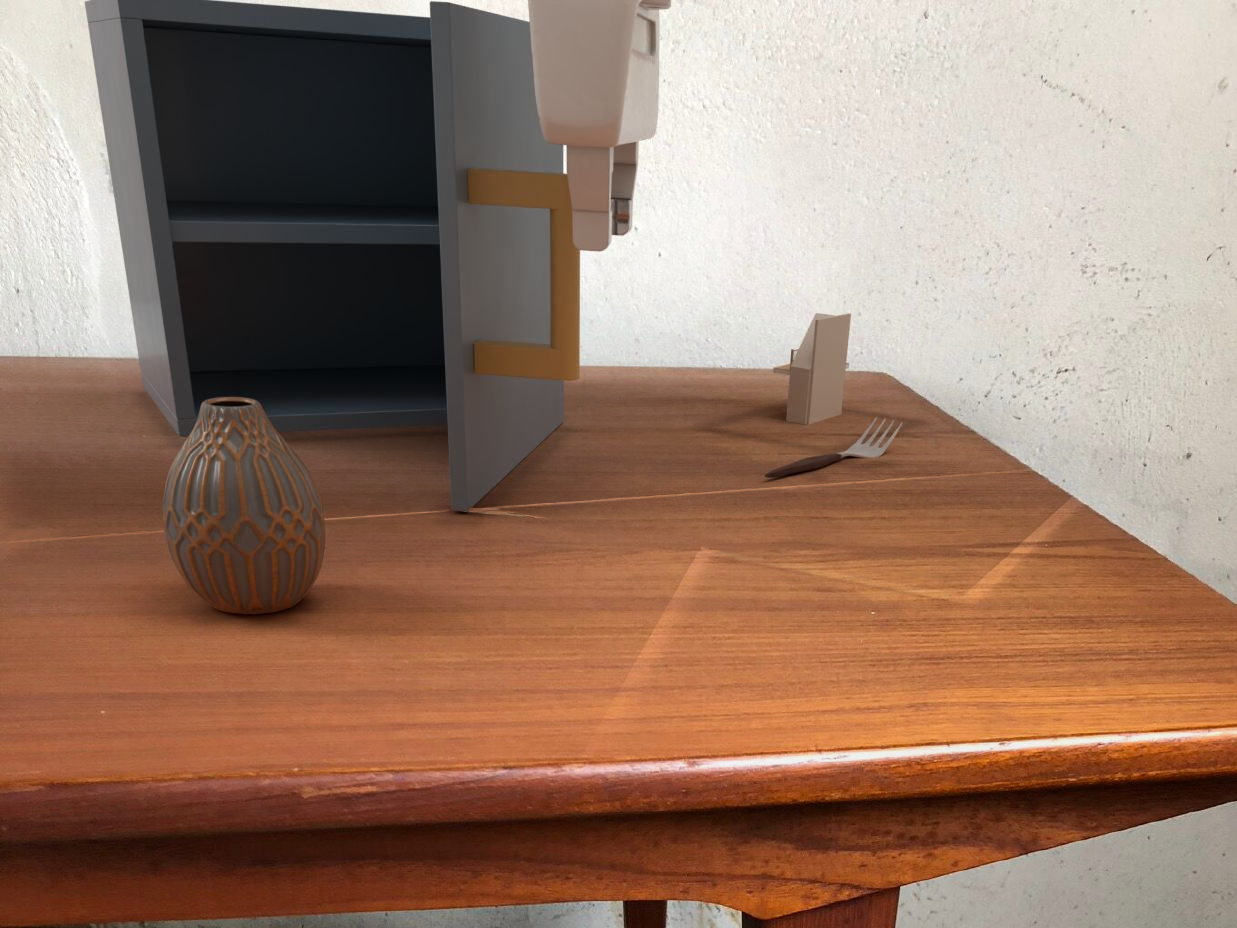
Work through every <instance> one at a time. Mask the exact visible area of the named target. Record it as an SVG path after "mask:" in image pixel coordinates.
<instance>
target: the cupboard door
mask: <svg viewBox="0 0 1237 928" xmlns="http://www.w3.org/2000/svg"><path fill="white" fill-rule="evenodd" d="M429 17H430V24H431V47H432V70H433V93H434V117H435V140H436V163H437V186H438V209H439V233H440V256H441V279H442V302H443V325H444V348H445V372H446V395H447V418H448V425H447V439H448V441H447V442H448V461H449V464H448V465H449V483H450V484H449V485H450V508H451V511H457V512H469V511H470V510H471V509H472V508H473V507H475V505H477V504H478V503H479V502H480V501H481V500H482V499H483V498H484V497H485V496H486V495H487V494H488V493H489V492H490V491H492V489H494V488H495V486H496V485H498V484H499V483H500V482H501V481H502V480H503V479H505V477H506V476H507V475H508V474H509V473H511V472H512V471H513V470H514V469H515V468H516V467H517V466H518V465H519V464H520V463H521V462H522V461H523V460H524V459H526V458H527V457H528V456H529V455H530V454H531V453H532V452H533V451H534V450H536V448H538V447H539V446H540V444H541V443H542V442H544V441H545V440H546V439H547V438H548V437H549V436H550V435H552V433H553V432H554V431H556V430H557V428H559V427H560V426H561V425H562V424H563V423H564V421H565V420H564V419H565V418H564V417H565V414H564V413H565V406H564V405H565V404H564V403H565V402H564V401H565V399H564V397H565V393H564V392H565V391H564V387H565V382H569V381H570V382H571V381H577V380H580V371H581V370H580V365H581V363H580V362H581V360H580V358H581V352H580V351H581V250H579V249H578V248H576V247H575V245H574V243H573V209H572V204H571V198H570V191H569V184H568V178H567V173H566V172H564V145H557V144H550V143H548V142H546V140H545V139H544V137H543V134H542V130H541V126H540V121H539V116H538V111H537V105H536V97H535V87H534V75H533V63H532V50H531V36H530V22H529V21H528V20H523V19H519V18H516V17H511V16H507V15H503V14H499V13H495V12H490V11H487V10H483V9H478V8H474V7H469V6H466V5H462V4H458V3H453V2H451V1H437V0H436V1H435V0H433V1H432V0H431V1H429Z"/></svg>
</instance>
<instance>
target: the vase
mask: <svg viewBox="0 0 1237 928" xmlns="http://www.w3.org/2000/svg"><path fill="white" fill-rule="evenodd" d="M162 496H163V497H162V521H163V529H164V535H165V538H166V542H167V547H168V550H169V552H170V556H171V558H172V561H173V563H174V565H175V567H176V569H177V571H178V573H179V575H180V576H181V578H182V579H183V582H184V583H186V585H187V586H188V587H189V588H190V590H192V592H193V593H194V594H196V595H197V596H198V597H199V598H200V599H201V600H203V601H204V602H205V603H206V604H208V605H209V606H210V607H212V608H214V609H216V610H218V611H220V612H224V613H229V614H236V615H263V614H271V613H276V612H281V611H285V610H289V609H290V608H292V607H294V606H296V605H297V604H299V602H301V601H302V600H303V598H304V597H305V596H306V595H307V594H308V592H309V591H310V590H311V589H312V588H313V586H314V584H315V583H316V582H317V581H316V580H317V579H318V577H319V574H320V571H321V569H322V566H323V561H324V556H325V550H326V519H325V512H324V508H323V503H322V499H321V496H320V492H319V490H318V488H317V485H316V482H315V480H314V478H313V476H312V474H311V473H310V471H309V469H308V467H307V466H306V463H305V462H304V461H303V460H302V458H301V457H300V456H299V454H297V452H296V451H295V449H293V448H292V446H291V445H290V444H289V443H288V442H287V440H286V439H285V438H284V437H283V436H282V435H281V434H280V432H277V430H276V429H275V428H274V427H273V425H272V424H271V422H270V421H269V419H268V417H267V416H266V414H265V412H264V410H263V408H262V406H261V404H260V403H259V402H258V401H257V400H254V399H250V398H242V397H220V398H212V399H208V400H205V401H204V402H203V403H202V405H201V408H200V412H199V415H198V419H197V421H196V424H195V426H194V428H193V430H192V432H191V433H190V435H189V436H187V438H186V440H185V441H184V442H183V445H182V446H181V447H180V449H179V451H178V452H177V454H176V456H175V458H174V459H173V461H172V463H171V465H170V468H169V470H168V474H167V476H166V480H165V484H164V490H163V495H162Z"/></svg>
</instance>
